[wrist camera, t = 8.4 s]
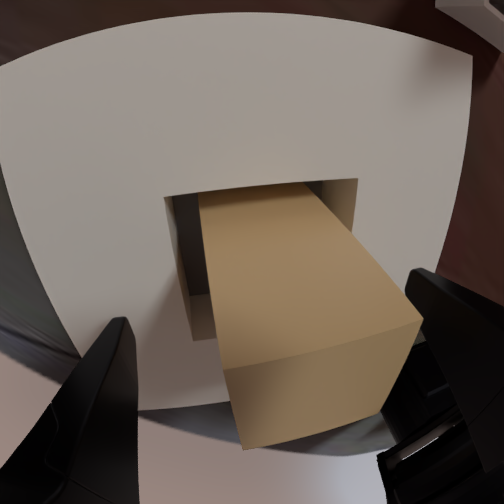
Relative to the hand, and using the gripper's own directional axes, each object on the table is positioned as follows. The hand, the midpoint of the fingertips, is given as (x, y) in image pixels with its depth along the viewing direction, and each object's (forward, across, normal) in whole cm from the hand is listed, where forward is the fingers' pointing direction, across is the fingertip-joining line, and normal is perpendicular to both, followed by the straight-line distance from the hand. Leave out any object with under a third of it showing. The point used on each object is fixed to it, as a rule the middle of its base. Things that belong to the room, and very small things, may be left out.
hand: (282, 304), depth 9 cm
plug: (+5, 0, 0) cm, 5 cm away
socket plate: (+5, 0, 0) cm, 5 cm away
